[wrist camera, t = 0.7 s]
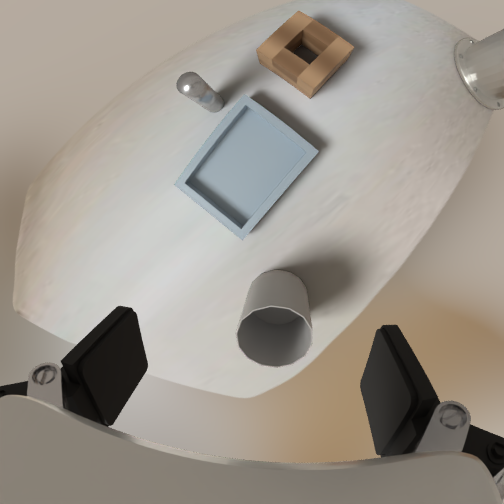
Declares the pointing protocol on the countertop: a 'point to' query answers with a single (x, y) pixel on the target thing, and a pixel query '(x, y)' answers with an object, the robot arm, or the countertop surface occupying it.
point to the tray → (245, 166)
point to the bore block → (313, 38)
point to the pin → (199, 91)
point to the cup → (275, 320)
